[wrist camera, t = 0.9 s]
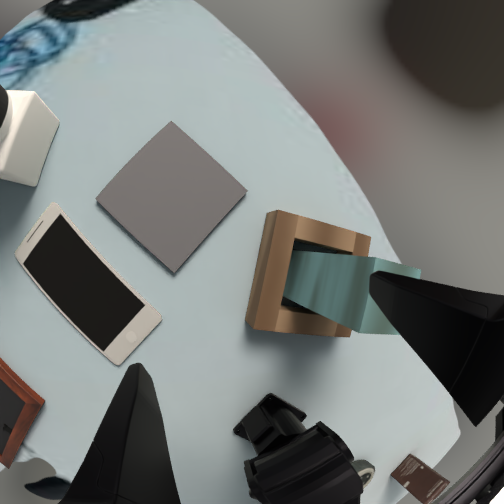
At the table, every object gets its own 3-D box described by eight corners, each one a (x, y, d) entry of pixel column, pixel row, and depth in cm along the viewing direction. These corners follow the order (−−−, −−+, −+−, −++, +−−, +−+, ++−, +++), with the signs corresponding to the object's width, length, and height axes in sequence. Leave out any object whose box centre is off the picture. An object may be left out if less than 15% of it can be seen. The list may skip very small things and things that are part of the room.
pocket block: (354, 237, 30) (371, 236, 27) (334, 329, 29) (349, 337, 27) (266, 213, 27) (278, 209, 24) (244, 319, 27) (253, 328, 24)
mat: (246, 191, 26) (247, 190, 26) (174, 272, 25) (174, 273, 24) (171, 123, 24) (171, 120, 23) (96, 199, 22) (95, 198, 22)
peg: (327, 258, 29) (421, 269, 16) (318, 300, 29) (406, 334, 16) (289, 249, 28) (375, 257, 15) (279, 294, 28) (359, 333, 15)
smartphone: (119, 363, 24) (117, 367, 23) (17, 254, 20) (12, 254, 19) (164, 315, 25) (163, 318, 24) (56, 201, 22) (53, 199, 21)
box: (408, 453, 37) (446, 480, 25) (415, 456, 38) (451, 481, 26) (388, 475, 36) (423, 505, 24) (396, 477, 37) (429, 504, 25)
